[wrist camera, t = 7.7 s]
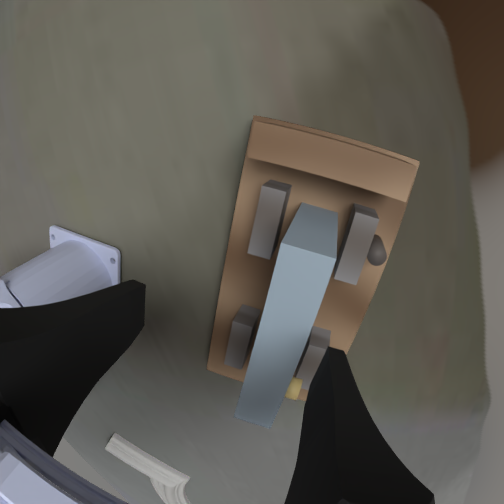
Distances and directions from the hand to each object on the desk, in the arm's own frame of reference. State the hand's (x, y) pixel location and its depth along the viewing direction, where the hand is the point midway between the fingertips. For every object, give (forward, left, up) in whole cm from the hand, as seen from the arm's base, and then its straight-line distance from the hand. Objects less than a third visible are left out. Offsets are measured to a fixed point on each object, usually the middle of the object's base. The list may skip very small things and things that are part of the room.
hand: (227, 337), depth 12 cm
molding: (-50, +4, -10) cm, 51 cm away
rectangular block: (-1, -2, -8) cm, 8 cm away
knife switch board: (-1, -2, -9) cm, 10 cm away
